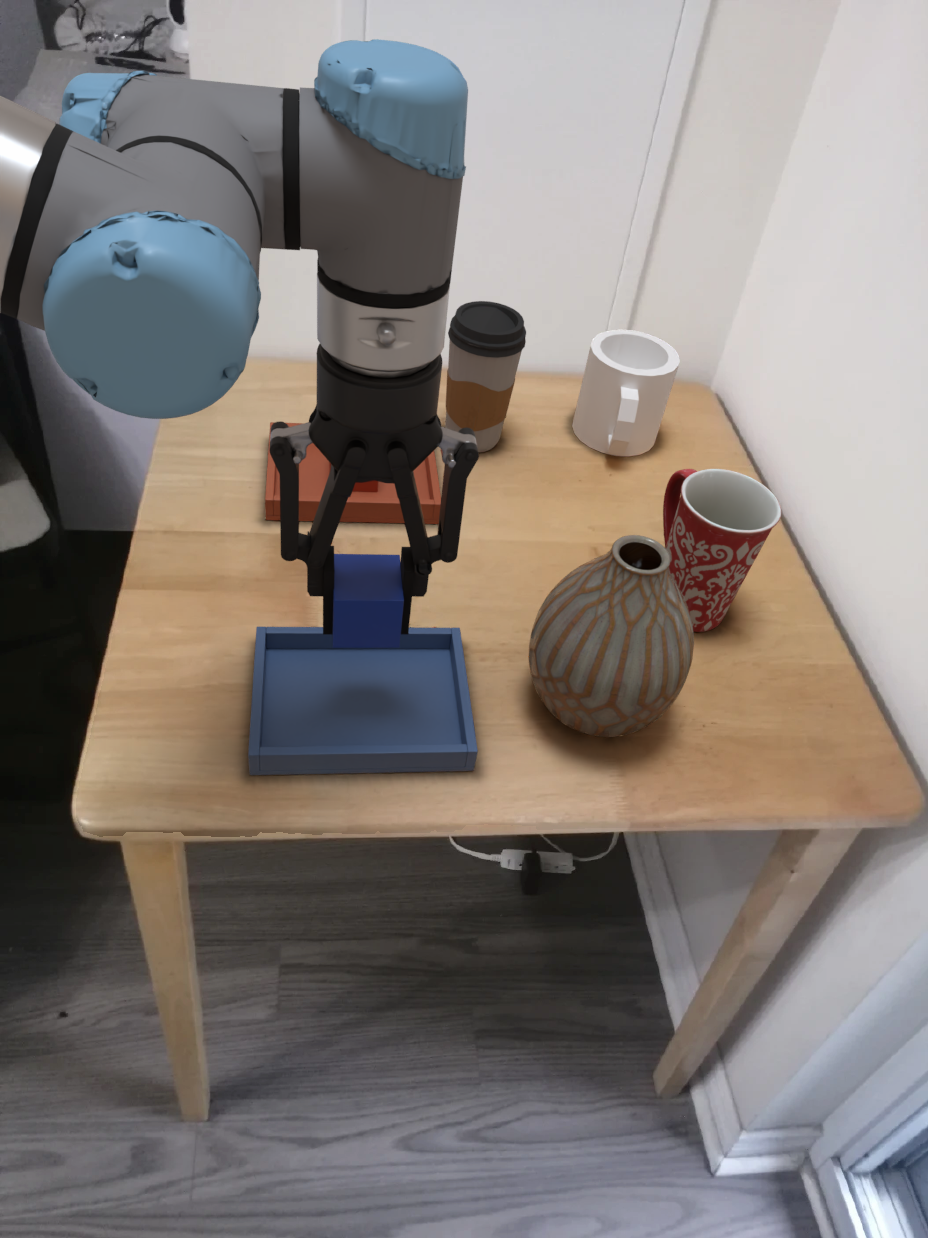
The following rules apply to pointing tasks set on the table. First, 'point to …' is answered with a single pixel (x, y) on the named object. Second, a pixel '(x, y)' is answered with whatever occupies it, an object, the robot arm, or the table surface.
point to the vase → (613, 641)
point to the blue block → (367, 601)
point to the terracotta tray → (353, 492)
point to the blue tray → (359, 704)
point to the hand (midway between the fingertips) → (365, 621)
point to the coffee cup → (482, 368)
